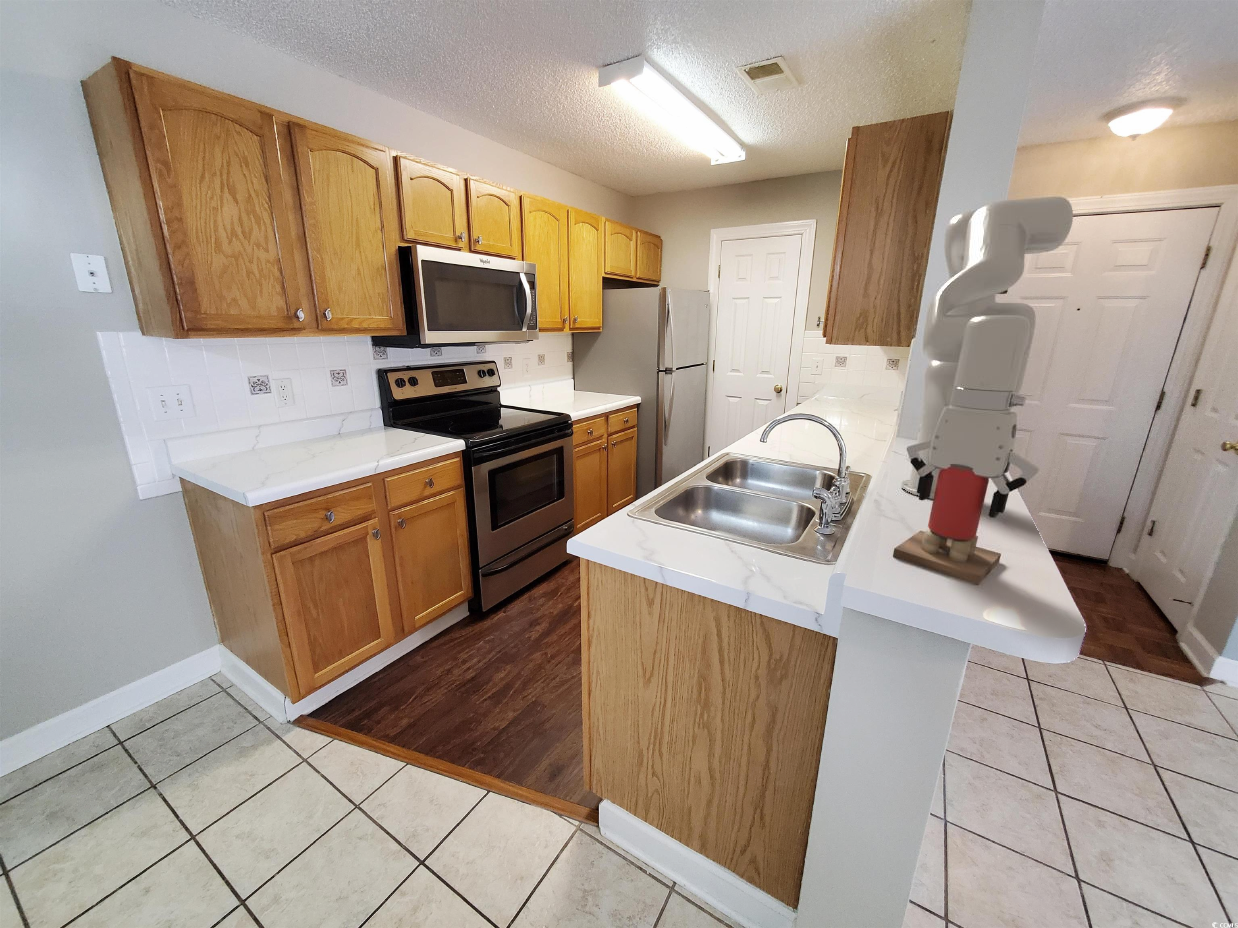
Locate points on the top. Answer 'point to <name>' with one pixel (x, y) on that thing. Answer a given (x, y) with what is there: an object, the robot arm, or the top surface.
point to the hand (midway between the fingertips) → (957, 506)
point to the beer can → (957, 503)
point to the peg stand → (948, 556)
